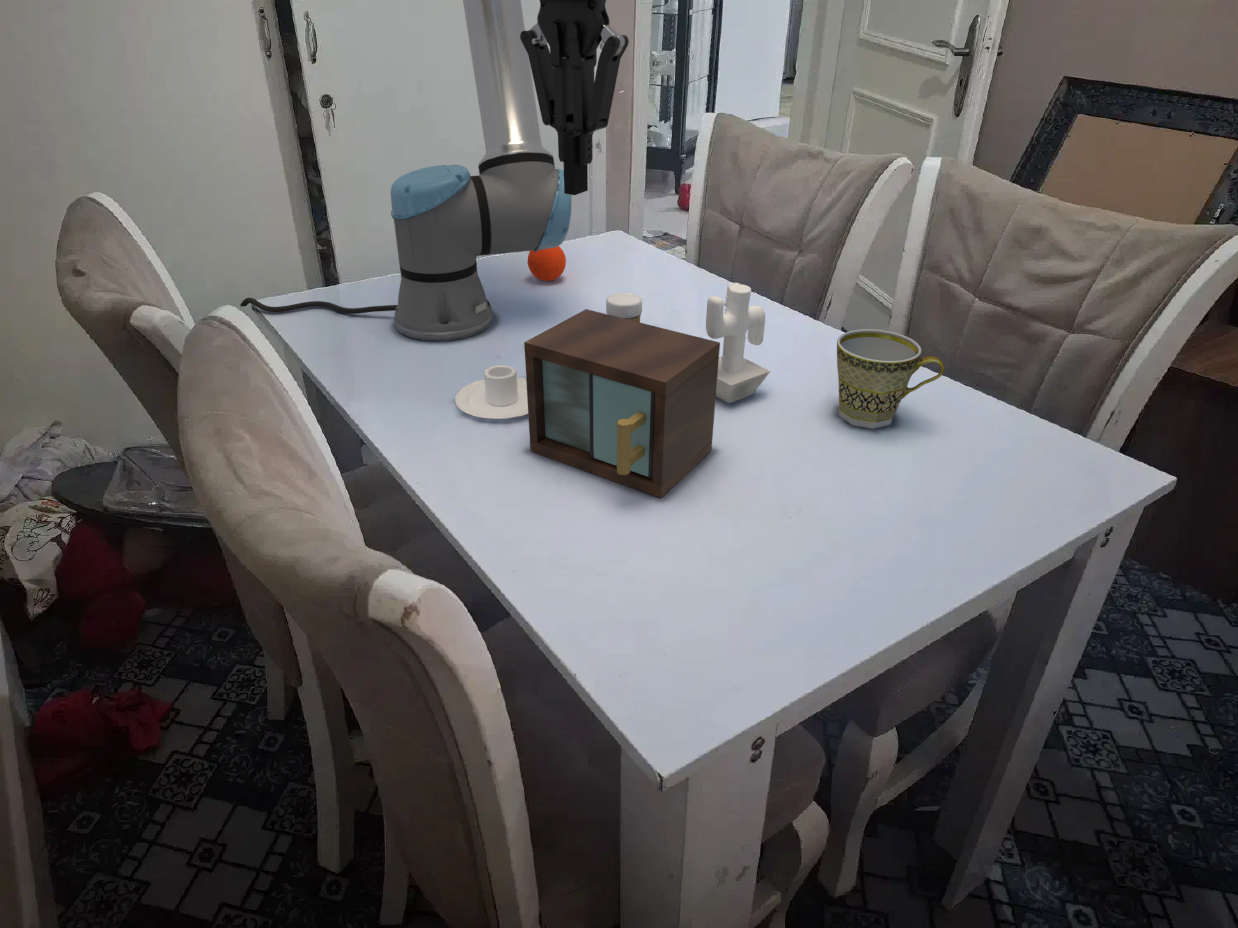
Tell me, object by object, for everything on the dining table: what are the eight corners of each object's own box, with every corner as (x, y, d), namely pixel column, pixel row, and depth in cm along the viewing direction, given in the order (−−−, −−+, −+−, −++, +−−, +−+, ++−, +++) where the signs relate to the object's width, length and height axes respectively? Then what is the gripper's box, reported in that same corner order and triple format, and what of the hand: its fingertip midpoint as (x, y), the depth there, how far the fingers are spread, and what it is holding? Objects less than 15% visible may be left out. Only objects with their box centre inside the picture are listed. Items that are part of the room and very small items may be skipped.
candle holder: (526, 429, 101) (524, 398, 99) (439, 415, 104) (435, 385, 102) (560, 388, 111) (559, 359, 109) (479, 376, 114) (477, 348, 112)
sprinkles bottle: (646, 395, 110) (649, 299, 103) (618, 403, 107) (619, 306, 100) (627, 382, 113) (629, 289, 106) (599, 390, 111) (599, 295, 104)
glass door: (568, 473, 90) (565, 388, 84) (593, 454, 93) (592, 371, 88) (631, 496, 86) (633, 409, 80) (655, 475, 89) (658, 390, 84)
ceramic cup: (820, 427, 102) (832, 354, 97) (831, 393, 110) (842, 324, 105) (928, 446, 99) (947, 371, 93) (931, 410, 107) (948, 339, 101)
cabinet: (530, 451, 97) (523, 342, 90) (587, 411, 106) (586, 308, 98) (660, 498, 89) (665, 382, 81) (711, 451, 97) (720, 342, 90)
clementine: (533, 271, 152) (531, 233, 149) (570, 272, 152) (569, 234, 148) (524, 285, 146) (522, 246, 142) (563, 287, 145) (562, 247, 141)
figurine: (773, 393, 110) (786, 286, 102) (722, 413, 106) (731, 302, 98) (736, 374, 115) (745, 271, 107) (685, 392, 110) (691, 285, 103)
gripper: (498, -44, 84) (512, 190, 97) (604, -43, 78) (604, 207, 91) (543, -44, 90) (550, 178, 102) (644, -43, 84) (639, 193, 96)
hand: (576, 192), depth 96 cm, fingers closed
